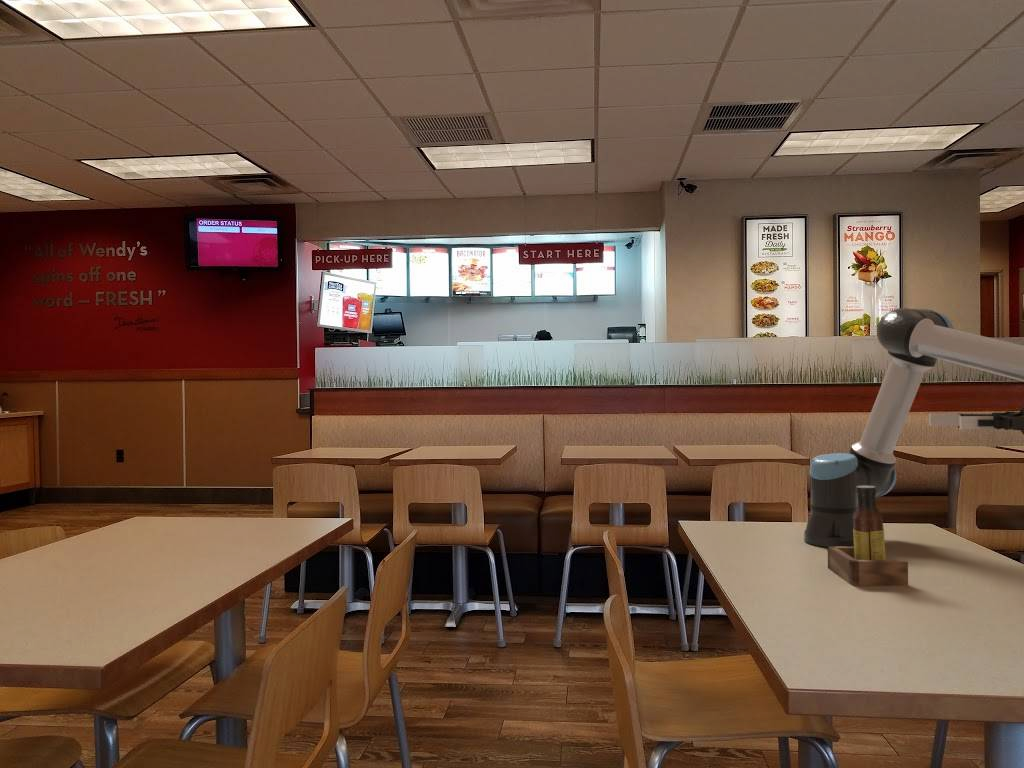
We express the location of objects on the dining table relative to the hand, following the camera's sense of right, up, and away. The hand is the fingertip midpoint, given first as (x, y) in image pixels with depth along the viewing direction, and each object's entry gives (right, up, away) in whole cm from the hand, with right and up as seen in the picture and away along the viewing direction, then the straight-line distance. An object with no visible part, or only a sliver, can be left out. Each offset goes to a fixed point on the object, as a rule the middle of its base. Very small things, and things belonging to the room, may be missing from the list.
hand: (944, 421), depth 168 cm
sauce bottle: (-16, -34, 0) cm, 38 cm away
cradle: (-16, -34, 0) cm, 38 cm away
